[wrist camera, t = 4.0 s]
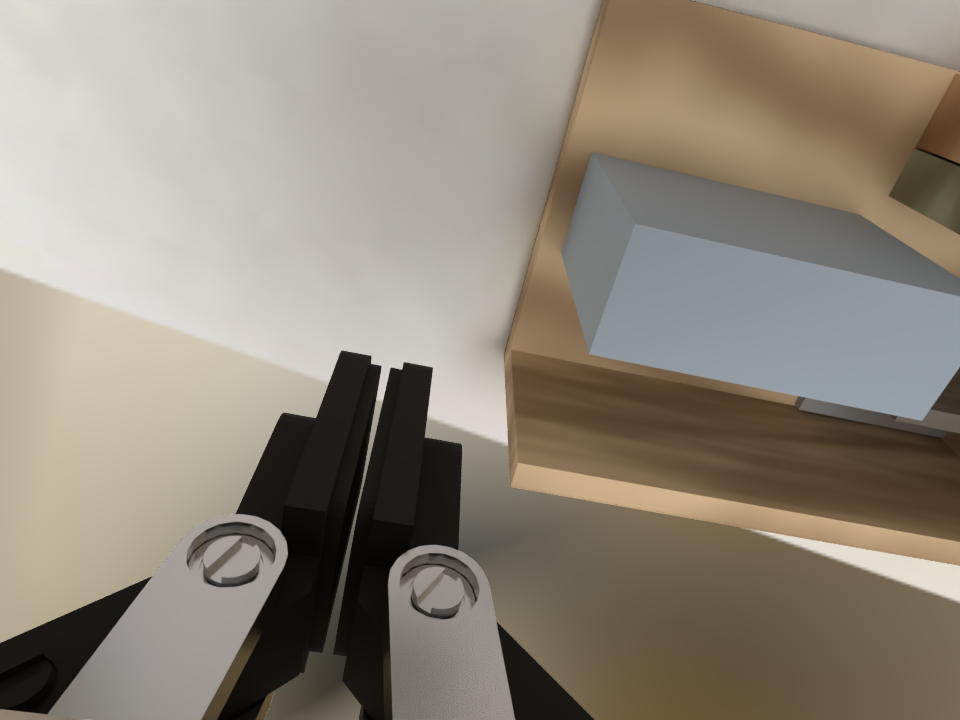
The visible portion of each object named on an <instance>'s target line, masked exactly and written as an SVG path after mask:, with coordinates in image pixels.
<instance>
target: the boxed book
mask: <svg viewBox="0 0 960 720" xmlns="http://www.w3.org/2000/svg"><path fill="white" fill-rule="evenodd" d="M561 255H562V258H563V262H564V266H565V269H566V273H567V277H568V280H569V284H570V288H571V291H572V295H573V299H574V302H575V306H576V309H577V313H578V317H579V320H580V324H581V328H582V331H583V335H584V339H585V342H586V346H587V350H588V353H589V354H590V355H595V356H600V357H605V358H610V359H615V360H620V361H625V362H630V363H635V364H640V365H645V366H650V367H655V368H660V369H665V370H670V371H675V372H680V373H685V374H690V375H695V376H700V377H705V378H710V379H715V380H720V381H725V382H730V383H735V384H740V385H745V386H750V387H755V388H760V389H765V390H770V391H775V392H780V393H785V394H790V395H795V396H800V397H805V398H810V399H815V400H820V401H825V402H830V403H835V404H840V405H845V406H850V407H855V408H860V409H865V410H870V411H875V412H880V413H885V414H890V415H896V416H901V417H906V418H911V419H916V420H921V421H922V420H923V419H924V417H925V416H926V414H927V413H928V412H929V410H930V409H931V407H932V406H933V404H934V403H935V402H936V400H937V399H938V397H939V396H940V394H941V393H942V392H943V390H944V389H945V387H946V386H947V384H948V383H949V382H950V380H951V379H952V377H953V376H954V374H955V373H956V372H957V370H958V369H959V367H960V278H958V277H956V276H955V275H953V274H952V273H950V272H949V271H947V270H946V269H944V268H942V267H941V266H939V265H938V264H936V263H935V262H933V261H931V260H930V259H928V258H927V257H925V256H924V255H922V254H920V253H919V252H917V251H916V250H914V249H913V248H911V247H910V246H908V245H906V244H905V243H903V242H902V241H900V240H899V239H897V238H895V237H894V236H892V235H891V234H889V233H888V232H886V231H884V230H883V229H881V228H880V227H878V226H877V225H875V224H874V223H872V222H870V221H869V220H867V219H866V218H864V217H863V216H861V215H859V214H856V213H851V212H847V211H843V210H838V209H834V208H830V207H826V206H821V205H817V204H813V203H808V202H804V201H800V200H796V199H791V198H787V197H783V196H779V195H774V194H770V193H766V192H761V191H757V190H753V189H749V188H744V187H740V186H736V185H731V184H727V183H723V182H719V181H714V180H710V179H706V178H702V177H697V176H693V175H689V174H684V173H680V172H676V171H672V170H667V169H663V168H659V167H654V166H650V165H646V164H642V163H637V162H633V161H629V160H625V159H620V158H616V157H612V156H607V155H603V154H599V153H595V152H591V156H590V159H589V162H588V166H587V169H586V172H585V175H584V179H583V182H582V185H581V189H580V192H579V195H578V199H577V202H576V205H575V208H574V212H573V215H572V218H571V222H570V225H569V228H568V232H567V235H566V238H565V241H564V245H563V248H562V251H561Z"/></svg>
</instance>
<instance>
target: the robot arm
mask: <svg viewBox="0 0 960 720" xmlns="http://www.w3.org/2000/svg"><path fill="white" fill-rule="evenodd" d="M432 371H433V368H432V367H427V366H421V365H416V364H411V363H405V362H404V364H403V369H402V370H400V369H395V368H391V369H390V373H389V378H388V382H387V386H386V391H385V395H384V400H383V404H382V408H381V413H380V417H379V422H378V426H377V430H376V435H375V439H374V443H373V448H372V452H371V457H370V461H369V466H368V470H367V474H366V479H365V483H364V487H363V492H362V496H361V500H360V505H359V510H358V515H357V520H356V525H355V530H354V536H353V542H352V548H351V554H350V559H349V565H348V571H347V577H346V583H345V589H344V595H343V601H342V607H341V612H340V619H339V624H338V630H337V636H336V642H335V648H334V655H342V656H347V658H346V664H345V669H344V674H343V680H342V681H343V682H344V683H345V685H346V686H347V687H348V688H349V690H350V691H351V692H352V694H353V695H354V696H355V698H356V699H357V700H358V701H359V703H360V704H361V707H360V713H359V720H594V719H593V718H592V717H591V716H590V715H589V714H588V713H587V712H586V711H585V710H584V709H583V708H582V707H581V706H580V705H579V704H578V703H577V702H576V701H575V700H574V699H573V698H572V697H571V696H570V695H569V694H568V693H567V692H566V691H565V690H564V689H563V688H562V687H561V686H560V685H559V684H558V683H557V682H556V681H555V680H554V679H553V678H552V677H551V676H550V675H549V674H548V673H547V672H546V671H545V670H544V669H543V668H542V667H541V666H540V665H539V664H538V663H537V662H536V661H535V660H534V659H533V658H532V657H531V656H530V655H529V654H528V653H527V652H526V651H525V650H524V649H523V648H522V647H521V646H520V645H519V644H518V643H517V642H516V641H515V640H514V639H513V638H512V637H511V636H510V635H509V634H508V633H507V632H506V631H505V630H504V629H503V628H502V627H501V626H500V625H499V624H498V623H497V622H496V618H495V612H494V607H493V602H492V596H491V591H490V586H489V583H488V581H487V578H486V575H485V573H484V572H483V570H482V569H481V568H480V567H479V565H478V564H477V563H476V562H475V561H474V560H473V559H471V558H470V557H469V556H467V555H466V554H465V553H463V552H460V551H458V544H459V517H460V491H461V489H460V488H461V465H462V463H461V462H462V445H461V444H459V443H453V442H447V441H442V440H436V439H430V438H425V429H426V421H427V412H428V404H429V396H430V388H431V379H432ZM380 373H381V366H379V365H374V364H371V356H368V355H363V354H358V353H352V352H347V351H341V353H340V355H339V358H338V360H337V363H336V366H335V369H334V371H333V374H332V377H331V379H330V382H329V385H328V388H327V390H326V393H325V395H324V398H323V401H322V404H321V406H320V409H319V412H318V415H317V417H316V418H311V417H305V416H300V415H294V414H289V413H283V414H281V416H280V418H279V420H278V422H277V424H276V426H275V429H274V431H273V433H272V435H271V438H270V439H269V442H268V444H267V446H266V448H265V451H264V453H263V455H262V457H261V459H260V461H259V464H258V466H257V468H256V470H255V472H254V475H253V477H252V479H251V481H250V483H249V486H248V488H247V490H246V493H245V495H244V497H243V499H242V501H241V503H240V506H239V508H238V510H237V512H236V514H233V515H222V516H219V517H215V518H212V519H208V520H206V521H204V522H202V523H200V524H199V525H197V526H195V527H193V528H192V529H191V530H190V531H189V532H188V533H187V534H186V535H185V536H184V537H183V538H182V539H181V540H180V541H179V542H178V544H177V545H176V546H175V548H174V549H173V550H172V551H171V553H170V554H169V556H168V557H167V558H166V560H165V561H164V562H163V563H162V565H161V566H160V567H159V569H158V570H157V571H156V572H155V574H154V575H153V576H152V577H150V578H147V579H145V580H143V581H141V582H138V583H136V584H134V585H132V586H129V587H127V588H125V589H123V590H120V591H118V592H116V593H113V594H111V595H109V596H106V597H104V598H102V599H100V600H97V601H95V602H93V603H91V604H88V605H86V606H84V607H82V608H79V609H77V610H75V611H72V612H70V613H68V614H66V615H63V616H61V617H59V618H56V619H54V620H52V621H50V622H47V623H45V624H43V625H41V626H38V627H36V628H34V629H32V630H29V631H27V632H25V633H23V634H20V635H18V636H15V637H13V638H11V639H9V640H6V641H4V642H2V643H0V720H264V719H265V716H266V714H267V712H268V710H269V708H270V704H271V701H272V697H273V694H274V690H276V689H277V688H279V687H281V686H282V685H284V684H285V683H287V682H288V681H290V680H291V679H293V678H295V677H296V676H298V675H299V674H300V672H301V673H304V671H305V666H306V663H307V659H308V655H309V651H312V652H320V653H322V652H323V648H324V644H325V640H326V636H327V631H328V627H329V623H330V618H331V614H332V610H333V605H334V601H335V597H336V593H337V589H338V584H339V580H340V576H341V571H342V567H343V563H344V559H345V554H346V549H347V546H348V541H349V537H350V533H351V528H352V524H353V520H354V516H355V511H356V506H357V503H358V498H359V494H360V489H361V484H362V479H363V473H364V466H365V461H366V456H367V450H368V443H369V438H370V432H371V426H372V420H373V414H374V408H375V402H376V397H377V391H378V385H379V379H380Z"/></svg>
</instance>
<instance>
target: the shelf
mask: <svg viewBox="0 0 960 720" xmlns="http://www.w3.org/2000/svg"><path fill="white" fill-rule="evenodd" d="M591 152H595V153H599V154H603V155H607V156H612V157H616V158H620V159H625V160H629V161H633V162H637V163H642V164H646V165H650V166H654V167H659V168H663V169H667V170H672V171H676V172H680V173H684V174H689V175H693V176H697V177H702V178H706V179H710V180H714V181H719V182H723V183H727V184H731V185H736V186H740V187H744V188H749V189H753V190H757V191H761V192H766V193H770V194H774V195H779V196H783V197H787V198H791V199H796V200H800V201H804V202H808V203H813V204H817V205H821V206H826V207H830V208H834V209H838V210H843V211H847V212H851V213H856V214H859V215H861V216H863V217H864V218H866V219H867V220H869V221H870V222H872V223H874V224H875V225H877V226H878V227H880V228H881V229H883V230H884V231H886V232H888V233H889V234H891V235H892V236H894V237H895V238H897V239H899V240H900V241H902V242H903V243H905V244H906V245H908V246H910V247H911V248H913V249H914V250H916V251H917V252H919V253H920V254H922V255H924V256H925V257H927V258H928V259H930V260H931V261H933V262H935V263H936V264H938V265H939V266H941V267H942V268H944V269H946V270H947V271H949V272H950V273H952V274H953V275H955V276H956V277H958V278H960V71H957V70H953V69H949V68H945V67H942V66H938V65H934V64H930V63H926V62H923V61H919V60H915V59H911V58H907V57H904V56H900V55H896V54H892V53H888V52H885V51H881V50H877V49H873V48H869V47H866V46H862V45H858V44H854V43H851V42H847V41H843V40H839V39H835V38H832V37H828V36H824V35H820V34H816V33H813V32H809V31H805V30H801V29H797V28H794V27H790V26H786V25H782V24H778V23H775V22H771V21H767V20H763V19H759V18H756V17H752V16H748V15H744V14H740V13H737V12H733V11H729V10H725V9H722V8H718V7H714V6H710V5H706V4H703V3H699V2H695V1H691V0H603V2H602V5H601V9H600V13H599V16H598V20H597V23H596V27H595V31H594V34H593V38H592V41H591V45H590V48H589V52H588V56H587V59H586V63H585V66H584V70H583V74H582V77H581V81H580V84H579V88H578V91H577V95H576V99H575V102H574V106H573V109H572V113H571V116H570V120H569V124H568V127H567V131H566V134H565V138H564V142H563V145H562V149H561V152H560V156H559V159H558V163H557V167H556V170H555V174H554V177H553V181H552V185H551V188H550V192H549V195H548V199H547V202H546V206H545V210H544V213H543V217H542V220H541V224H540V227H539V231H538V235H537V238H536V242H535V245H534V249H533V253H532V256H531V260H530V263H529V267H528V270H527V274H526V278H525V281H524V285H523V288H522V292H521V296H520V299H519V303H518V306H517V310H516V313H515V317H514V321H513V324H512V328H511V331H510V335H509V339H508V342H507V346H506V349H505V353H504V367H505V387H506V407H507V428H508V448H509V468H510V486H511V487H514V488H520V489H526V490H531V491H537V492H543V493H549V494H554V495H560V496H566V497H571V498H577V499H583V500H589V501H595V502H600V503H606V504H612V505H617V506H623V507H629V508H634V509H640V510H646V511H651V512H657V513H663V514H669V515H674V516H680V517H686V518H691V519H697V520H703V521H709V522H714V523H720V524H726V525H731V526H737V527H743V528H748V529H754V530H760V531H766V532H771V533H777V534H783V535H788V536H794V537H800V538H806V539H811V540H817V541H823V542H828V543H834V544H840V545H845V546H851V547H857V548H863V549H868V550H874V551H880V552H885V553H891V554H897V555H903V556H908V557H914V558H920V559H925V560H931V561H937V562H943V563H948V564H954V565H960V367H959V369H958V370H957V372H956V373H955V374H954V376H953V377H952V379H951V380H950V382H949V383H948V384H947V386H946V387H945V389H944V390H943V392H942V393H941V394H940V396H939V397H938V399H937V400H936V402H935V403H934V404H933V406H932V407H931V409H930V410H929V412H928V413H927V414H926V416H925V417H924V419H923V420H922V421H921V420H916V419H911V418H906V417H901V416H896V415H890V414H885V413H880V412H875V411H870V410H865V409H860V408H855V407H850V406H845V405H840V404H835V403H830V402H825V401H820V400H815V399H810V398H805V397H800V396H795V395H790V394H785V393H780V392H775V391H770V390H765V389H760V388H755V387H750V386H745V385H740V384H735V383H730V382H725V381H720V380H715V379H710V378H705V377H700V376H695V375H690V374H685V373H680V372H675V371H670V370H665V369H660V368H655V367H650V366H645V365H640V364H635V363H630V362H625V361H620V360H615V359H610V358H605V357H600V356H595V355H590V354H589V353H588V350H587V346H586V342H585V339H584V335H583V331H582V328H581V324H580V320H579V317H578V313H577V309H576V306H575V302H574V299H573V295H572V291H571V288H570V284H569V280H568V277H567V273H566V269H565V266H564V262H563V258H562V255H561V251H562V248H563V245H564V241H565V238H566V235H567V232H568V228H569V225H570V222H571V218H572V215H573V212H574V208H575V205H576V202H577V199H578V195H579V192H580V189H581V185H582V182H583V179H584V175H585V172H586V169H587V166H588V162H589V159H590V156H591Z"/></svg>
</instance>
